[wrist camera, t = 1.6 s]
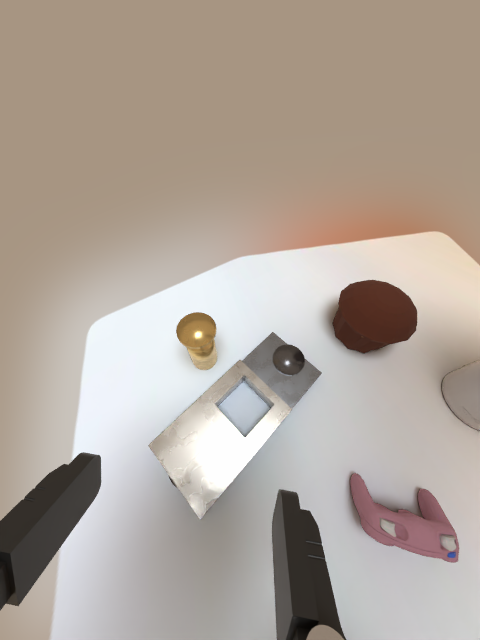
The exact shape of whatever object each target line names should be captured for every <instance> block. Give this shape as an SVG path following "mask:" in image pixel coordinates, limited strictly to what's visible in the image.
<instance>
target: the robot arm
mask: <svg viewBox="0 0 480 640" xmlns="http://www.w3.org/2000/svg"><path fill="white" fill-rule="evenodd" d="M442 392H443V395H444V398H445V400H446V402H447V404H448V406H449V407H450V409H451V410H452V411H453V412H454V413H455V415H456V416H457V417H458V418H460V419H461V420H462V421H463V422H464V423H466V424H467V425H469V426H471V427H472V428H474V429H477V430H479V431H480V360H478V361H475V362H473V363H470V364H468V365H465V366H463V367H462V368H460V369H458V370H455V371H453V372H450V373H448V374H447V375H446V376H445V378H444V379H443V383H442ZM100 486H101V457H100V456H99V455H95V454H89V453H80V454H79V455H78V456H77V457H76V458H75V459H74V460H73V461H72V462H71V463H70V464H69V465H66V464H63V465H62V466H60V467H59V468H57V469H55V470H54V471H52V472H51V473H49V474H48V475H47V476H46V477H45V478H44V479H43V480H42V481H41V482H40V483H39V484H38V485H37V486H36V487H35V489H33V490H32V491H30V492H29V493H28V494H27V495H26V496H25V498H24V500H21V501H20V502H19V503H18V504H17V505H16V506H15V507H14V508H13V509H12V510H11V511H10V512H9V513H8V514H7V515H6V516H5V517H4V518H3V519H2V520H1V521H0V610H1V609H2V607H3V606H4V605H5V604H11V605H15V606H19V604H20V603H21V602H22V600H23V599H24V597H25V596H26V595H27V593H28V592H29V590H30V589H31V588H32V586H33V585H34V583H35V582H36V580H37V579H38V578H39V576H40V575H41V574H42V572H43V571H44V569H45V568H46V566H47V565H48V564H49V562H50V561H51V560H52V558H53V557H54V555H55V554H56V552H57V551H58V550H59V548H60V547H61V545H62V544H63V543H64V541H65V540H66V538H67V537H68V536H69V534H70V533H71V531H72V530H73V529H74V527H75V526H76V524H77V523H78V522H79V520H80V519H81V517H82V516H83V515H84V513H85V512H86V510H87V509H88V508H89V506H90V505H91V503H92V502H93V501H94V499H95V497H96V496H97V494H98V492H99V489H100ZM272 543H273V564H274V586H275V607H276V629H277V640H346V638H345V636H344V634H343V631H342V628H341V625H340V621H339V617H338V613H337V608H336V604H335V599H334V595H333V591H332V586H331V582H330V577H329V573H328V568H327V564H326V561H325V555H324V551H323V546H322V542H321V537H320V533H319V528H318V525H317V523H316V522H315V520H314V518H313V516H312V514H311V512H310V511H307V510H302V509H300V505H299V499H298V494H297V493H296V492H291V491H286V490H280V489H279V491H278V495H277V500H276V505H275V509H274V514H273V521H272Z"/></svg>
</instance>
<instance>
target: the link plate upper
mask: <svg viewBox="0 0 480 640" xmlns="http://www.w3.org/2000/svg"><path fill="white" fill-rule="evenodd" d="M243 378H245V379H246V380H247V381H248V382H249V383H250V384H251V385H252V386H253V387H254V388H255V389H256V390H257V391H258V392H259V393H260V394H261V395H262V396H263V397H264V398H265V399H266V400H267V401H268V402H269V403H270V404H271V405H272V406H273V407H272V408H271V409H270V410H269V411H268V413H267V414H266V415H265V416H264V417H263V418H262V419H261V420H260V422H259V423H258V424H257V425H256V426H255V427H254V428H253V430H252V431H251V432H250V433H249V434H248V435H247V436H246V437H244V436H243V435H242V434H241V433H240V432H239V431H238V430H237V429H236V427H235V426H234V425H233V424H232V423H231V422H230V421H229V420H228V418H227V417H226V416H225V415H224V414H223V413H222V412H221V411H220V410H219V408H218V407H217V406H216V405H217V404H218V403H219V402H220V401H221V400H222V399H223V398H224V397H225V396H226V395H227V394H228V393H229V392H230V391H231V390H232V389H233V388H234V387H235V386H236V385H237V384H238V383H239V382H240V381H241V380H242V379H243ZM291 410H292V409H291V408H290V407H289V406H288V405H287V404H286V403H285V402H284V401H283V400H282V399H281V398H280V397H279V396H278V395H277V394H276V393H275V392H273V391H272V390H271V389H270V388H269V387H268V386H267V385H266V384H265V383H264V382H263V381H262V380H261V379H260V378H259V377H258V376H257V375H256V374H255V373H254V372H253V371H252V370H250V369H249V368H248V367H247V366H246V365H245V364H244V363H243V362H242V361H241V360H239V361H238V362H237V363H236V364H235V365H234V366H233V367H232V368H231V369H229V370H228V371H227V372H226V373H225V374H224V375H223V376H222V377H221V378H220V379H219V380H218V381H217V382H216V383H214V384H213V385H212V386H211V387H210V388H209V389H208V390H207V391H206V392H205V393H204V394H203V395H202V396H201V397H200V398H198V399H197V400H196V401H195V402H194V403H193V404H192V405H191V406H190V407H189V408H188V409H187V410H186V411H185V412H183V413H182V414H181V415H180V416H179V417H178V418H177V419H176V420H175V421H174V422H173V423H172V424H171V425H170V426H169V427H167V428H166V429H165V430H164V431H163V432H162V433H161V434H160V435H159V436H158V437H157V438H156V439H155V440H154V441H152V442H151V443H150V444H149V445H148V446H149V447H150V449H151V450H152V451H153V453H154V454H155V456H156V457H157V459H158V460H159V461H160V463H161V464H162V466H163V467H164V469H165V470H166V472H167V473H168V474H169V478H170V480H171V482H172V483H173V485H174V486H176V487H177V488H178V489H179V490H180V492H181V493H182V494H183V496H184V497H185V499H186V500H187V502H188V503H189V505H190V506H191V507H192V509H193V510H194V512H195V513H196V515H197V516H198V517H199V519H200V520H201V518H202V517H203V516H204V515H205V514H206V512H207V511H208V510H209V509H210V508H211V506H212V505H213V504H214V503H215V502H216V500H217V499H218V498H219V497H220V496H221V494H222V493H223V492H224V491H225V489H226V488H227V487H228V486H229V485H230V483H231V482H232V481H233V480H234V479H235V477H236V476H237V475H238V474H239V473H240V471H241V470H242V469H243V468H244V467H245V465H246V464H247V463H248V462H249V461H250V459H251V458H252V457H253V456H254V455H255V453H256V452H257V451H258V450H259V449H260V447H261V446H262V445H263V444H264V443H265V441H266V440H267V439H268V438H269V437H270V435H271V434H272V433H273V432H274V431H275V429H276V428H277V427H278V426H279V425H280V423H281V422H282V421H283V420H284V419H285V417H286V416H287V415H288V414H289V413H290V411H291Z"/></svg>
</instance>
